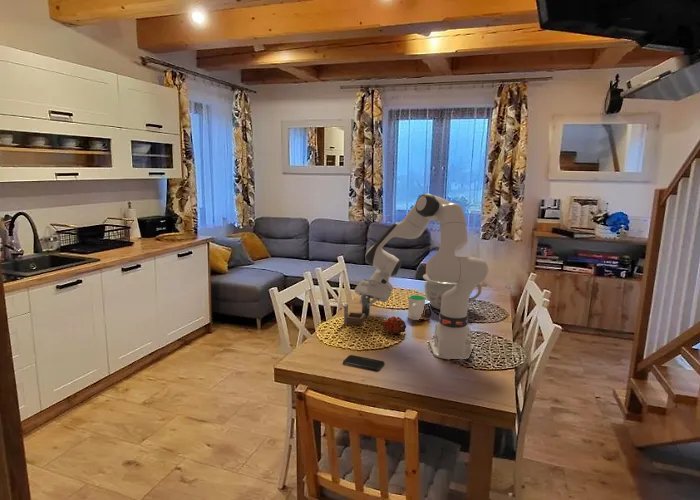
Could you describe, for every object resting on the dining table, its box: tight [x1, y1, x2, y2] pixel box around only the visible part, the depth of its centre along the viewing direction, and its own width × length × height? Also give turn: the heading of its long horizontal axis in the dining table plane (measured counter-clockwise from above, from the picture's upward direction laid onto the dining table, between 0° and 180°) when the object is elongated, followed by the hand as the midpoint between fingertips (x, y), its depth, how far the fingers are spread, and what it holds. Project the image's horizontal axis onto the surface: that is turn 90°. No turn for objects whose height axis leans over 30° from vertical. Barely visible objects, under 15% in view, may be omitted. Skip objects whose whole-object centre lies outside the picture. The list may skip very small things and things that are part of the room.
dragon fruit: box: [381, 315, 407, 335], centre depth 207 cm, size 8×8×12 cm
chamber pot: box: [422, 273, 483, 311], centre depth 245 cm, size 28×28×21 cm
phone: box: [342, 354, 385, 372], centre depth 176 cm, size 8×1×15 cm
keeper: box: [343, 303, 366, 327], centre depth 219 cm, size 10×9×10 cm
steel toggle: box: [361, 296, 371, 316], centre depth 229 cm, size 4×4×9 cm
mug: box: [407, 294, 426, 321], centre depth 227 cm, size 12×8×10 cm, turn 162°
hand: (365, 304), depth 229 cm, fingers closed on steel toggle, 4 cm apart
